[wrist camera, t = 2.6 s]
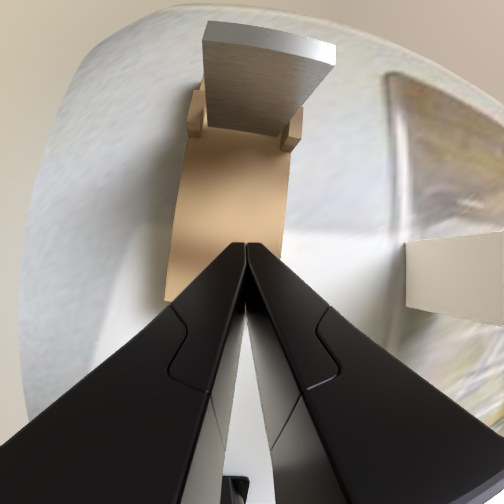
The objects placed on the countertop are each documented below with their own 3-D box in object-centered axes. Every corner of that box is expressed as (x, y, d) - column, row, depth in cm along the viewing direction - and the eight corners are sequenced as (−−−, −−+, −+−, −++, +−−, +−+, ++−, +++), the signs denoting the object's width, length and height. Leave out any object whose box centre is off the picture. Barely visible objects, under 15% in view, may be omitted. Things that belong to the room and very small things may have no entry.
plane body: (265, 306, 21) (282, 320, 16) (170, 295, 20) (157, 306, 15) (287, 92, 22) (305, 55, 17) (207, 79, 21) (208, 39, 16)
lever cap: (277, 137, 18) (334, 65, 8) (207, 126, 17) (202, 40, 8) (280, 113, 18) (335, 30, 8) (212, 102, 17) (212, 6, 7)
